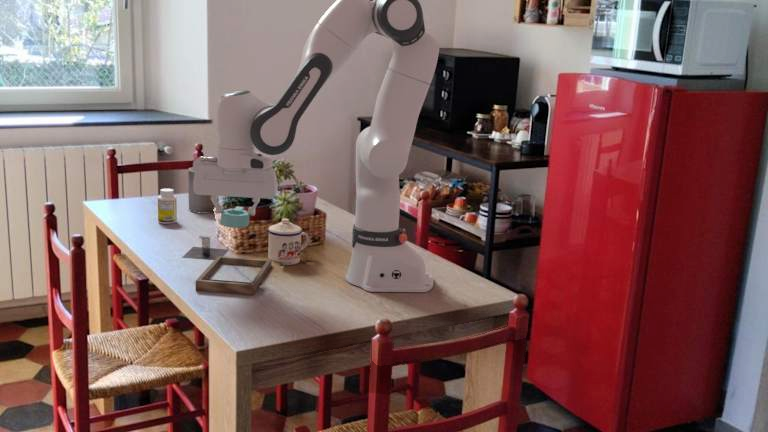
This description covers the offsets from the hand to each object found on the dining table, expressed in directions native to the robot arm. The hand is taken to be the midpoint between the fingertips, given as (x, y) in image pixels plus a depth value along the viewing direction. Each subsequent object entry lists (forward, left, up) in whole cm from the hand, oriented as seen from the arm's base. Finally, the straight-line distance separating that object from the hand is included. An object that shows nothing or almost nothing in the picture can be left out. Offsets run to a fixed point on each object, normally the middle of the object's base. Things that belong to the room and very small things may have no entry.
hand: (235, 213), depth 199 cm
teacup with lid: (-10, -18, -17) cm, 27 cm away
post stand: (+12, -15, -17) cm, 25 cm away
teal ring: (0, -2, -3) cm, 3 cm away
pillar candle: (+27, -64, -17) cm, 71 cm away
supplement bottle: (+33, -46, -17) cm, 59 cm away
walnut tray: (0, +1, -17) cm, 17 cm away
